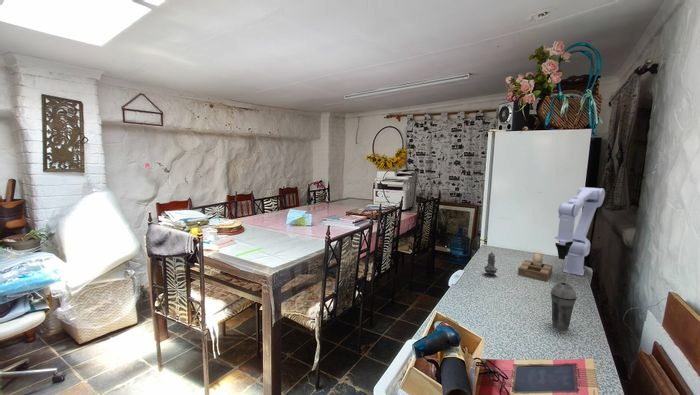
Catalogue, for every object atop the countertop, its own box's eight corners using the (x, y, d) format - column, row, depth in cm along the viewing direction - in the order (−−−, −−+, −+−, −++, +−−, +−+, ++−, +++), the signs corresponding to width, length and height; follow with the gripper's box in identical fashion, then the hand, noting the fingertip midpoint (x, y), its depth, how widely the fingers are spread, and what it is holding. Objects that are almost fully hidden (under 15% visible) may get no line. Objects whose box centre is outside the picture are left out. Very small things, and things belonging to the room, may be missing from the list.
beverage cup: (542, 321, 107) (547, 267, 104) (561, 320, 108) (567, 266, 105) (558, 333, 100) (564, 275, 97) (578, 332, 100) (585, 275, 98)
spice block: (525, 266, 159) (525, 260, 159) (552, 272, 152) (552, 265, 151) (517, 274, 148) (518, 268, 148) (546, 281, 140) (547, 274, 140)
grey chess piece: (498, 278, 144) (500, 254, 143) (485, 277, 145) (486, 253, 144) (495, 273, 150) (496, 250, 148) (482, 272, 151) (483, 249, 149)
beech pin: (533, 267, 155) (534, 251, 154) (542, 268, 153) (543, 253, 151) (531, 269, 152) (532, 253, 151) (540, 271, 150) (541, 255, 149)
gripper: (558, 225, 149) (555, 252, 151) (553, 229, 138) (549, 258, 140) (576, 227, 144) (572, 255, 146) (572, 232, 134) (568, 262, 135)
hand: (562, 257), depth 143 cm, fingers open, 7 cm apart
